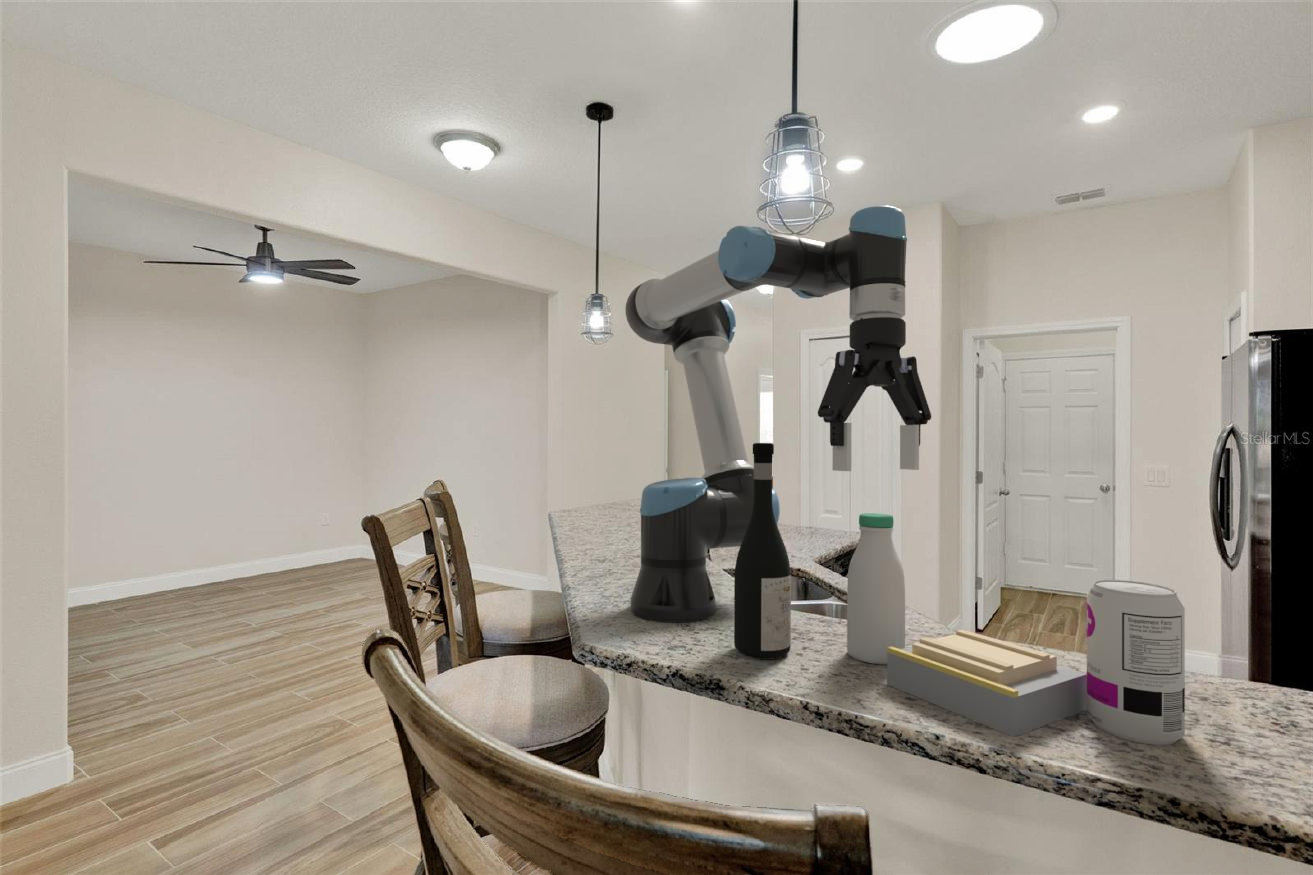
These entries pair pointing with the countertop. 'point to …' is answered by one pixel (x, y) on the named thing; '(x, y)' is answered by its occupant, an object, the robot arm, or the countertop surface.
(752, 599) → the wine bottle
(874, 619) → the milk bottle
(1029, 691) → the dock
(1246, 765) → the countertop surface
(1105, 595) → the supplement can
